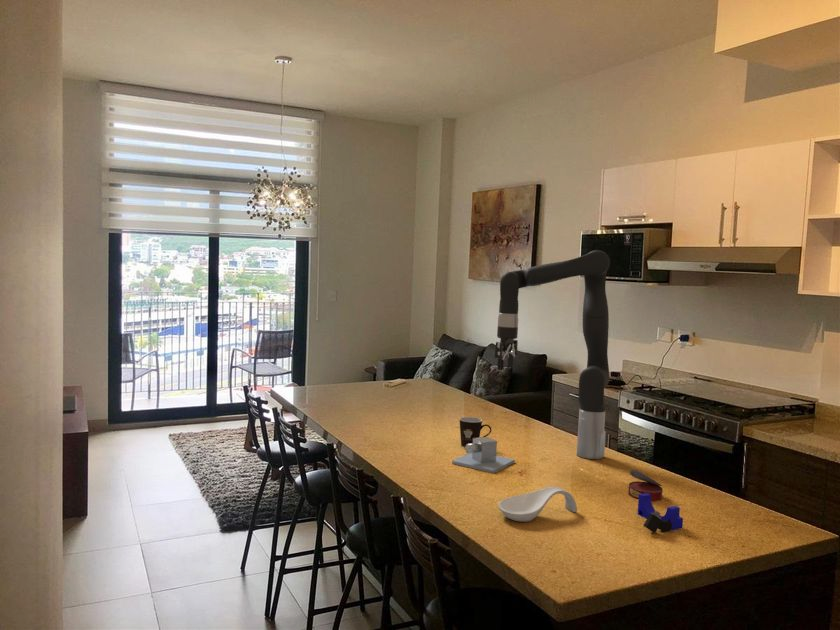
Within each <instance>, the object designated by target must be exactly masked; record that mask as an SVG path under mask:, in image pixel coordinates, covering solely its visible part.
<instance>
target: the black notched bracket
mask: <svg viewBox="0 0 840 630" xmlns="http://www.w3.org/2000/svg"><path fill="white" fill-rule="evenodd" d="M659 515H660V516H661V512H659V511H658V510H655V512H654V514H653V513H650V514H649V516H648V518H647V519H646V520H645V522H644V523H643V525H642V526H643V527H645V528H646V529H647V530H649V531H650V532H652V533H654V534H656V533H657V531H658V530H660V531H661V532H665V533H667V532H671V531H672V530H671V529H672V522H668V520H661V517H659Z"/></svg>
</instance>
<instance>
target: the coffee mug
mask: <svg viewBox="0 0 840 630" xmlns="http://www.w3.org/2000/svg"><path fill="white" fill-rule="evenodd" d="M458 419H459V431H460V432H459V433H460V444H461V446H462V447H463V448H465V446H466V444H473V438H480V436H481V431H482V429H483V428H484V427H488V428H489V432H488V433H486V434H485V435H483V436H482V437H489V435H490V434H491V432H492V426H490V425H489V424H482V423H483V419H482V418H478V417H475V416H464V417H460V418H458Z"/></svg>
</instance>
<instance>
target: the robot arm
mask: <svg viewBox="0 0 840 630" xmlns="http://www.w3.org/2000/svg"><path fill="white" fill-rule="evenodd" d="M610 265H611V260H610V257H609V255H608V254H607V253H606V252H604V251H602V250H599V249H598V250H597V249H594V250H591V251H589V252H588V253H586V254H583V255H581V256H578V257H574V258H572V259H568V260H563V261H557V262H550V263H545V264H543V263H542V264H539V265H535V266H531V267H530V266H529V267H527V268H525V269H518V270H512V271H507V272H505V273H503V274H502V275H501V276H500V282H499V292H500V293H499V295H500V296H499V297H500V298H499V299H500V300H499V304H498V305H499V308H498V316H497V331H496V332H497V333H496V334H497V335H496V336H497V338H498V339H500V340H499V341H496V342H495V349H494V350H495V351H494V359H497V368H496V369H497V370H498V371H504V366H505V358H506V356H507V368H509V369H510V368H514V364H515V363H514V362H515V357H516V356H518V344H519V343H518V336H519V335H518V330H519V291H520V289H523V288H527V287H534V286H535V287H536V286H540V285H545V284H550V283H553V282H556V281H561V280H564V279H568V278H574V277H581V276H584V277H583V279H584V296H583V303H582V304H583V306H582V335H583V337H584V342H585V345H586V349H587V365H586V368H584V369H583V370H582V372H581V373H580V375H579V379H578V404H579V411H578V425H577V442H576V443H577V444H576V455H577V457H579V458H583V459H589V460H597V461H598V460H601V459H603V457H605V452H606V451H605V449H606V447H605V446H606V433H607V431H606V430H605V425H606V424H605V419H606V406H607V405H606V402H605V397H604V396H605V389H606V387H607V386H608V384H609V382H610V368H609V358H608V357H609V356H608V348H609V347H608V346H609V330H610V329H609V328H610V327H609V325H610V323H609V322H610V321H609V316H610V315H609V314H610V313H609V304H608V303H609V302H608V298H607V293H606V292H607V291H606V281H607V272H608V270H609V268H610Z"/></svg>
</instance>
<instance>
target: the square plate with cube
mask: <svg viewBox="0 0 840 630" xmlns="http://www.w3.org/2000/svg"><path fill="white" fill-rule="evenodd" d="M515 463H516V461H515V459H514V458H510V457H504V456H501V455H496V462H489V463H480V462H478V461H476V460H474V459H472V453H469V454H468V453H465V454H464V455H462V456H459V457H456V459H453V460H452V461H451V464H453V465H457V466H459V467H465V468H470V469H474V470H479V471H483V472H486V473H487V472H488V473H492V474H495V473H498V472H499V471H501V470H503V469H504V468H507V467H509V466H510V465H512V464H515Z"/></svg>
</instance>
